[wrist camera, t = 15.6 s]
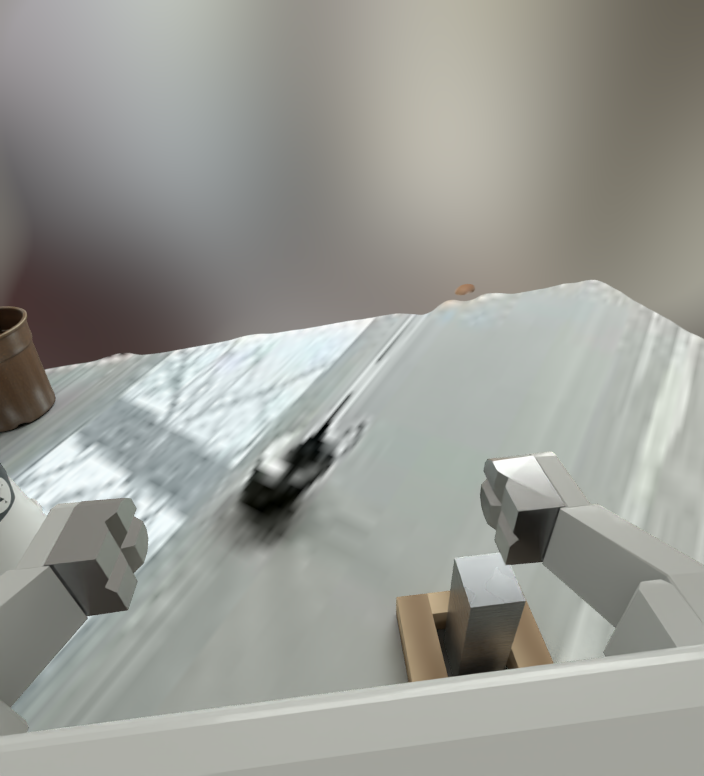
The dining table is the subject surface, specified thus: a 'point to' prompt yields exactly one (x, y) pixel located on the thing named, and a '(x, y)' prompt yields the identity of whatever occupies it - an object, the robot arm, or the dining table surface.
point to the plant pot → (20, 373)
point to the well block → (430, 614)
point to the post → (482, 614)
